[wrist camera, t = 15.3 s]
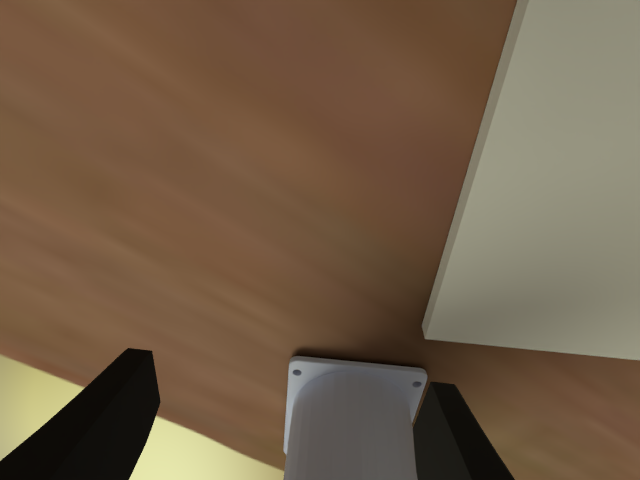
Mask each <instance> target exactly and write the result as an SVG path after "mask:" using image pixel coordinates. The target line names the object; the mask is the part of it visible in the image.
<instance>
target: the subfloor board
mask: <svg viewBox="0 0 640 480" xmlns="http://www.w3.org/2000/svg"><path fill="white" fill-rule="evenodd" d="M422 329H423V333H424V338H425V339H430V340H440V341H450V342H460V343H470V344H480V345H490V346H500V347H511V348H521V349H531V350H541V351H551V352H561V353H571V354H581V355H591V356H602V357H612V358H622V359H632V360H640V0H517V3H516V7H515V10H514V13H513V17H512V20H511V24H510V27H509V30H508V34H507V37H506V41H505V44H504V47H503V51H502V54H501V58H500V61H499V64H498V68H497V71H496V75H495V78H494V81H493V85H492V88H491V92H490V95H489V98H488V102H487V105H486V109H485V112H484V115H483V119H482V122H481V126H480V129H479V132H478V136H477V139H476V143H475V146H474V149H473V153H472V156H471V160H470V163H469V166H468V170H467V173H466V177H465V180H464V183H463V187H462V190H461V194H460V197H459V200H458V204H457V207H456V210H455V214H454V217H453V221H452V224H451V227H450V231H449V234H448V238H447V241H446V244H445V248H444V251H443V255H442V258H441V261H440V265H439V268H438V272H437V275H436V278H435V282H434V285H433V289H432V292H431V295H430V299H429V302H428V306H427V309H426V312H425V316H424V319H423V323H422Z"/></svg>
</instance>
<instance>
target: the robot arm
mask: <svg viewBox="0 0 640 480" xmlns="http://www.w3.org/2000/svg"><path fill="white" fill-rule="evenodd" d="M417 381H418V382H417ZM426 381H427V373H426V371H425V370H424V369H422V368H415V367H405V366H395V365H385V364H375V363H365V362H355V361H344V360H334V359H324V358H314V357H304V356H294V357H292V358H291V359H290V362H289V373H288V389H287V404H286V420H285V435H284V453H285V454H287V456H286V464H285V472H284V480H515V479H514V478H513V476H512V475H511V473H510V472H509V470H508V469H507V467H506V466H505V464H504V463H503V461H502V460H501V458H500V457H499V455H498V454H497V452H496V450H495V449H494V447H493V446H492V444H491V443H490V441H489V440H488V438H487V436H486V435H485V433H484V432H483V430H482V428H481V427H480V425H479V424H478V422H477V420H476V419H475V417H474V415H473V414H472V412H471V410H470V409H469V407H468V405H467V404H466V402H465V400H464V399H463V397H462V395H461V394H460V392H459V390H458V389H457V387H456V386H455V385H454V384H447V383H438V382H430V385H429V388H428V390H427V393H426V396H425V398H424V401H423V404H422V406H421V409H420V412H419V414H418V417H417V420H416V422H415V425H414V428H413V427H412V423H413V420H414V417H415V414H416V411H417V408H418V405H419V402H420V399H421V396H422V393H423V390H424V387H425V384H426ZM159 405H160V396H159V390H158V384H157V378H156V372H155V366H154V360H153V354H152V351H149V350H140V349H131V348H128V349H126V350H125V351H124V352H123V353H122V354H121V355H120V356H119V357H117V358H116V359H115V360H114V361H113V362H112V363H111V364H110V365H109V366H108V367H107V368H106V369H105V370H104V371H103V372H102V373H101V374H100V375H98V376H97V377H96V378H95V379H94V380H93V381H92V382H91V383H90V384H89V385H88V386H87V387H86V388H84V389H83V390H82V391H81V392H80V393H79V394H78V395H77V396H76V397H75V398H74V399H72V400H71V401H70V402H69V403H68V404H67V405H66V406H65V407H64V408H62V409H61V410H60V411H59V412H58V413H57V414H56V415H54V416H53V417H52V418H51V419H50V420H49V421H48V422H47V423H45V424H44V425H43V426H42V427H41V428H40V429H39V430H38V431H36V432H35V433H34V434H32V435H31V436H30V437H29V438H28V439H26V440H25V441H24V442H23V443H22V444H20V445H19V446H18V447H17V448H16V449H14V450H13V451H12V452H11V453H10V454H8V455H7V456H6V457H5V458H3V459H2V460H1V461H0V480H129V478H130V476H131V474H132V472H133V470H134V467H135V465H136V463H137V461H138V459H139V457H140V455H141V453H142V451H143V448H144V446H145V444H146V442H147V439H148V436H149V433H150V431H151V428H152V425H153V423H154V420H155V417H156V414H157V411H158V408H159Z"/></svg>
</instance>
